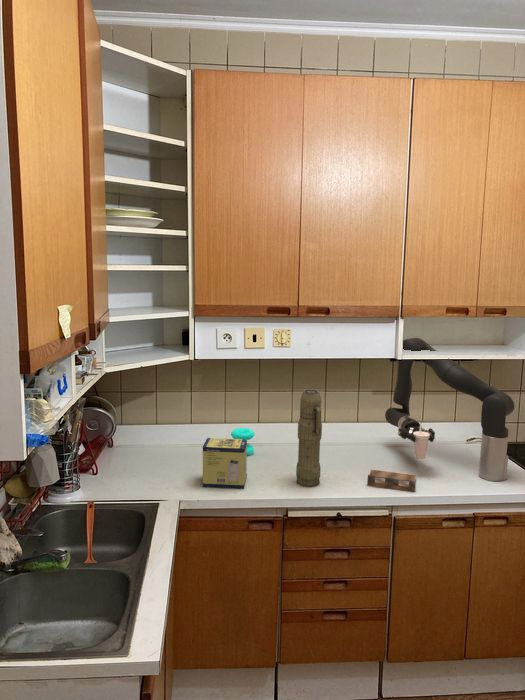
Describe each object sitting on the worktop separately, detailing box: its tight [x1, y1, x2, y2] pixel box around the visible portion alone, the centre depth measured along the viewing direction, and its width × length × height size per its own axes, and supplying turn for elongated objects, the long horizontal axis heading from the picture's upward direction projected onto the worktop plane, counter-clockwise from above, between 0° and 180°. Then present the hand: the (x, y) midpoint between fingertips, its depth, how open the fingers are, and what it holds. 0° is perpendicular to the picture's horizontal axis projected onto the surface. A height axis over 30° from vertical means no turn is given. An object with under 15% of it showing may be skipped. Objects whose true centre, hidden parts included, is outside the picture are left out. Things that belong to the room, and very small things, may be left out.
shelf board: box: [366, 469, 417, 493], centre depth 202 cm, size 17×13×4 cm
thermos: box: [295, 389, 323, 488], centre depth 198 cm, size 9×12×35 cm
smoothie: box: [413, 422, 430, 460], centre depth 209 cm, size 6×6×14 cm
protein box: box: [202, 437, 248, 490], centre depth 198 cm, size 10×16×16 cm
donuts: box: [230, 427, 255, 457], centre depth 230 cm, size 10×10×10 cm
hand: (423, 439), depth 206 cm, fingers closed on smoothie, 6 cm apart
